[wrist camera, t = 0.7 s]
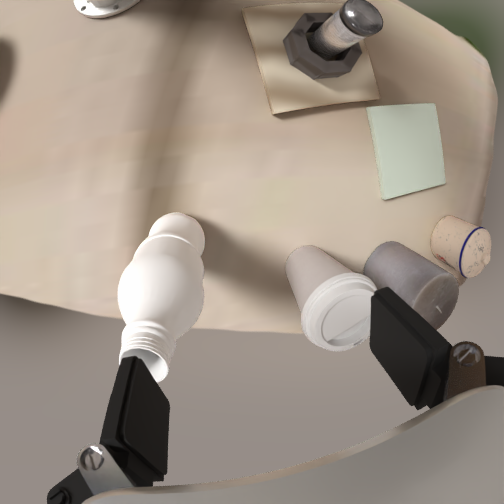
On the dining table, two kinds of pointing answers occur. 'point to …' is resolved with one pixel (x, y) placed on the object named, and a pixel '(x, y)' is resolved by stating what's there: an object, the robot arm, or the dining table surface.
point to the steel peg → (345, 28)
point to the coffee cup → (330, 299)
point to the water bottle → (162, 291)
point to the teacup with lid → (461, 245)
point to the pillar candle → (414, 281)
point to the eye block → (305, 59)
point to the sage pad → (406, 148)
